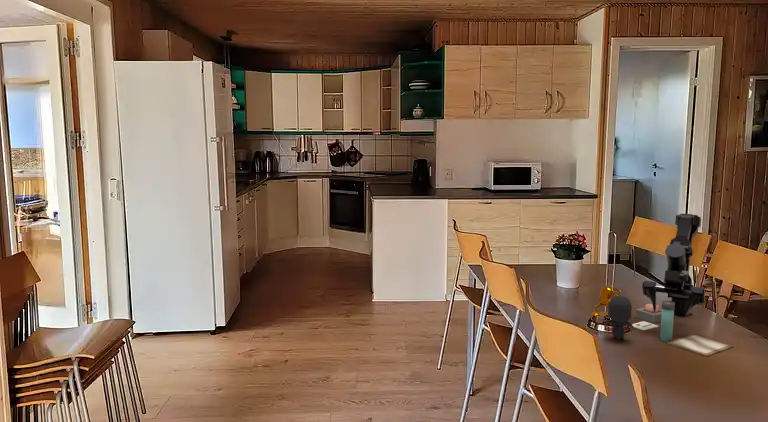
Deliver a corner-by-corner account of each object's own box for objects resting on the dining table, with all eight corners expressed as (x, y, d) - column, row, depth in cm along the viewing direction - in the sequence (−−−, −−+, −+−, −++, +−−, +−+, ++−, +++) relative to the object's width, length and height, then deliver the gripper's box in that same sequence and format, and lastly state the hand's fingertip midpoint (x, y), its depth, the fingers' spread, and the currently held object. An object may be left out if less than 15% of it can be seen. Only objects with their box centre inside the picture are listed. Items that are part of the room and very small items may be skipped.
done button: (650, 311, 214) (650, 302, 213) (660, 315, 210) (661, 305, 210) (642, 313, 212) (643, 304, 211) (653, 317, 208) (653, 307, 207)
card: (643, 321, 207) (643, 320, 207) (658, 326, 202) (658, 325, 202) (629, 325, 203) (629, 324, 203) (644, 330, 198) (644, 329, 198)
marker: (664, 337, 192) (666, 300, 190) (674, 340, 188) (677, 302, 186) (657, 339, 190) (659, 301, 188) (667, 343, 186) (670, 304, 185)
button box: (648, 313, 216) (649, 306, 216) (668, 319, 210) (668, 311, 209) (635, 317, 212) (635, 309, 212) (654, 323, 206) (654, 315, 205)
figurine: (622, 321, 208) (623, 289, 206) (590, 319, 211) (592, 287, 209) (619, 314, 216) (621, 283, 214) (589, 312, 219) (590, 281, 217)
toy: (632, 337, 192) (634, 293, 190) (634, 345, 185) (636, 300, 183) (603, 334, 195) (605, 291, 193) (604, 342, 188) (606, 298, 186)
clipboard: (694, 335, 193) (694, 333, 193) (733, 347, 182) (733, 345, 182) (666, 343, 186) (666, 342, 186) (706, 356, 175) (706, 355, 175)
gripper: (644, 257, 196) (637, 296, 188) (706, 264, 186) (701, 305, 178) (646, 275, 203) (639, 313, 196) (706, 282, 193) (701, 322, 186)
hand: (669, 313), depth 188 cm, fingers open, 9 cm apart
